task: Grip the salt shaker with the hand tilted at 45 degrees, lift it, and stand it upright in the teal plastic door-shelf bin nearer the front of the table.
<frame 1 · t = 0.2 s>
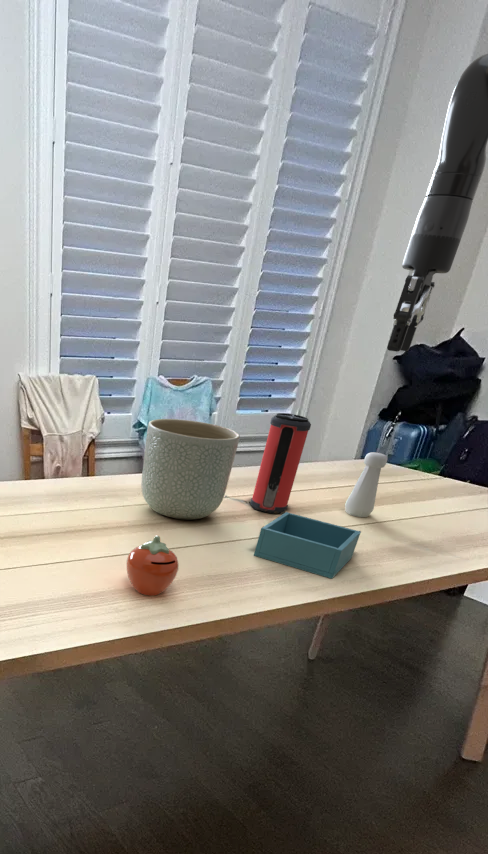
hand: (397, 350, 111), 31 cm above the table, tool pointing down, fingers open, 8 cm apart
speaker: (267, 509, 134), on the table
planter: (178, 513, 125), on the table
shelf bin: (303, 556, 111), on the table
tomato: (147, 591, 91), on the table
salt shaker: (355, 518, 136), on the table
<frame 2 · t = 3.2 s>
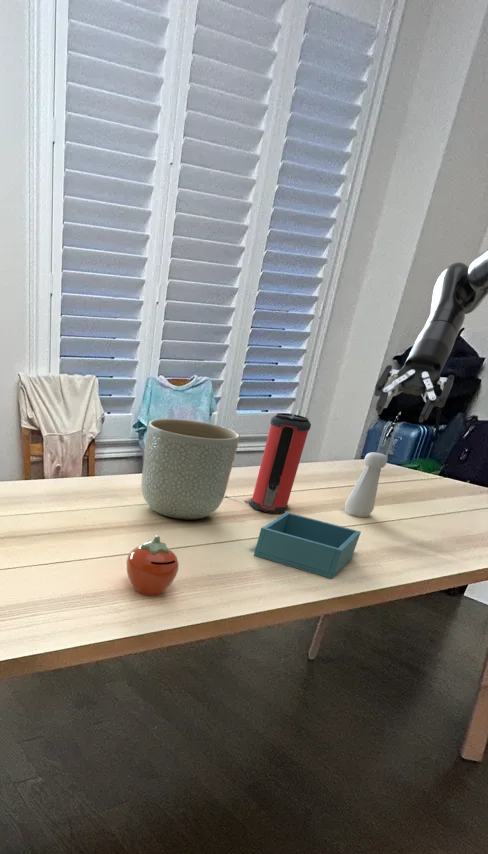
hand: (399, 415, 133), 19 cm above the table, tool tilted 45°, fingers open, 8 cm apart
nothing on the table moved.
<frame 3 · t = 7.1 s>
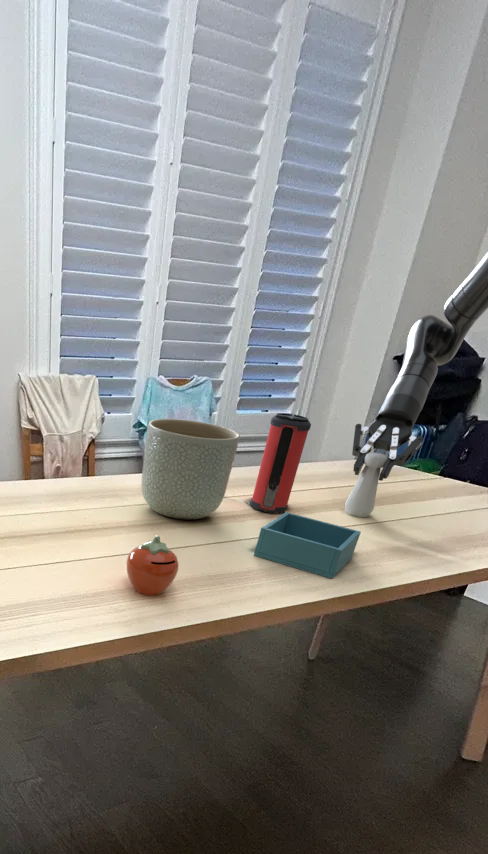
hand: (368, 475, 129), 9 cm above the table, tool tilted 45°, fingers closed on salt shaker, 4 cm apart
salt shaker: (355, 518, 136), on the table, touching gripper
everything else where it was.
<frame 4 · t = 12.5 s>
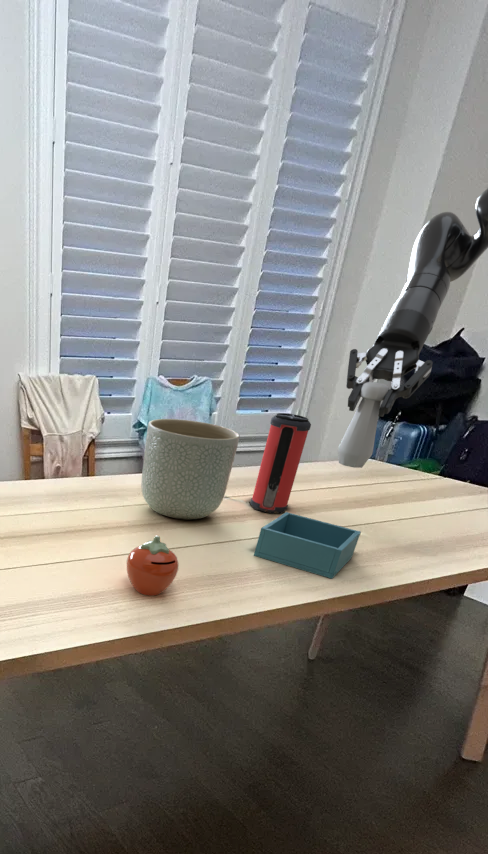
hand: (366, 409, 106), 23 cm above the table, tool tilted 45°, fingers closed on salt shaker, 4 cm apart
salt shaker: (350, 465, 112), point 13 cm above the table, touching gripper
everything else where it was.
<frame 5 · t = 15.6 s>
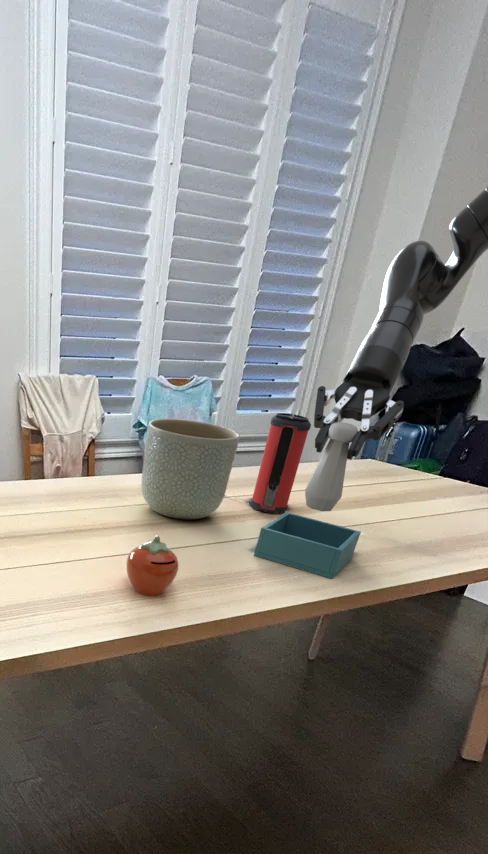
hand: (334, 452, 99), 18 cm above the table, tool tilted 45°, fingers closed on salt shaker, 4 cm apart
salt shaker: (318, 508, 106), point 8 cm above the table, touching gripper
everything else where it was.
when the fingers open (10 cm above the table, at t = 18.1 s): salt shaker stays where it is, resting on shelf bin.
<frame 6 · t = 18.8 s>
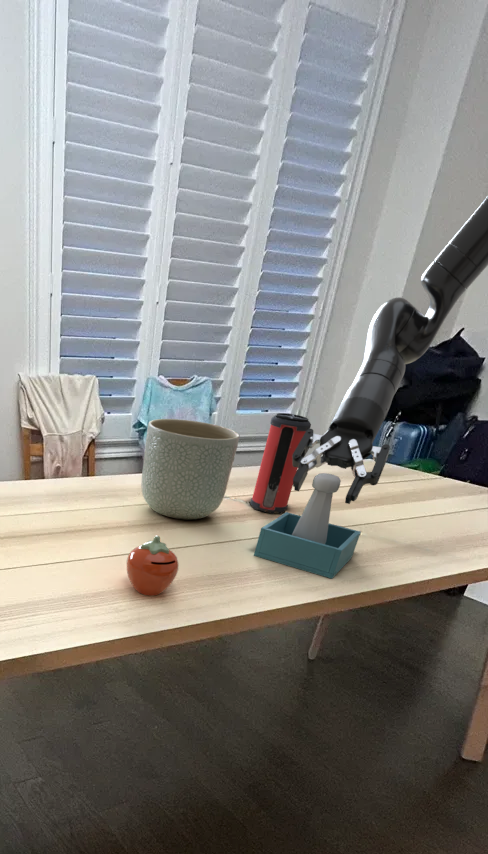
hand: (321, 494, 104), 11 cm above the table, tool tilted 45°, fingers open, 8 cm apart
salt shaker: (304, 553, 111), point 1 cm above the table, touching shelf bin
everything else where it was.
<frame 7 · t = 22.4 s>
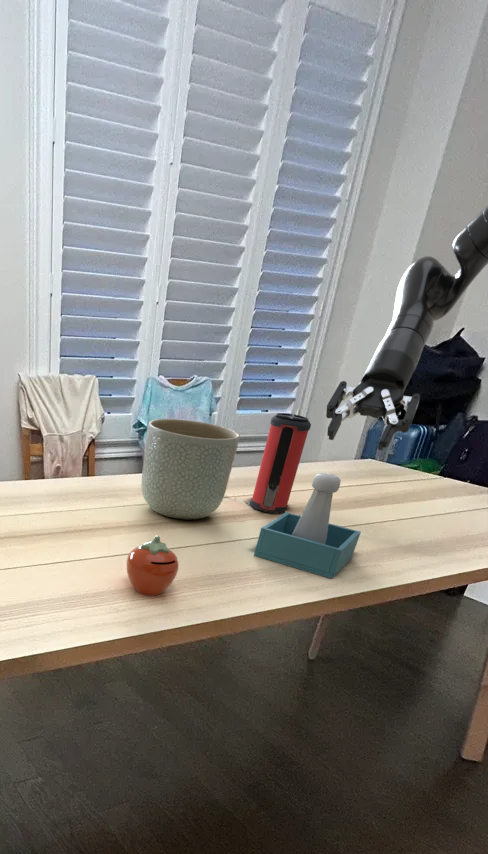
hand: (355, 441, 110), 18 cm above the table, tool tilted 45°, fingers open, 8 cm apart
nothing on the table moved.
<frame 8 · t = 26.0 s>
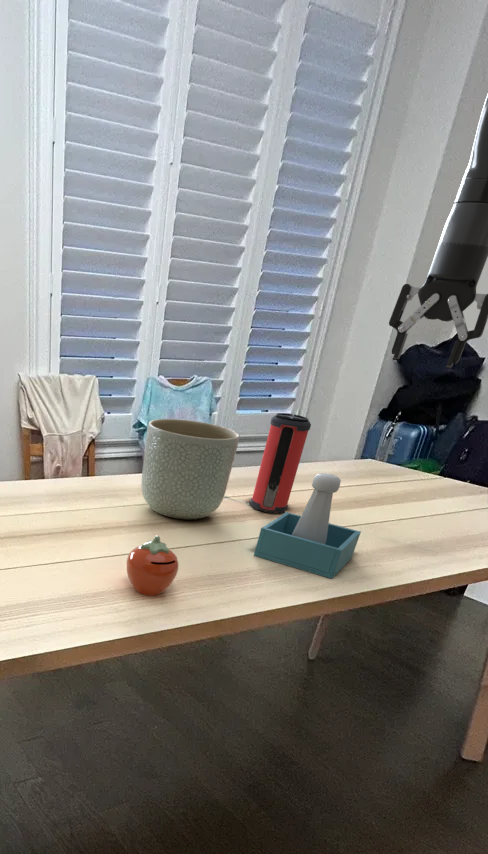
hand: (422, 362, 107), 30 cm above the table, tool pointing down, fingers open, 8 cm apart
nothing on the table moved.
at the end: salt shaker inside the target area in the shelf bin (0.2 cm from its centre), point 0.6 cm above the shelf bin's base; salt shaker tilted 0°; the gripper is holding nothing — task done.
